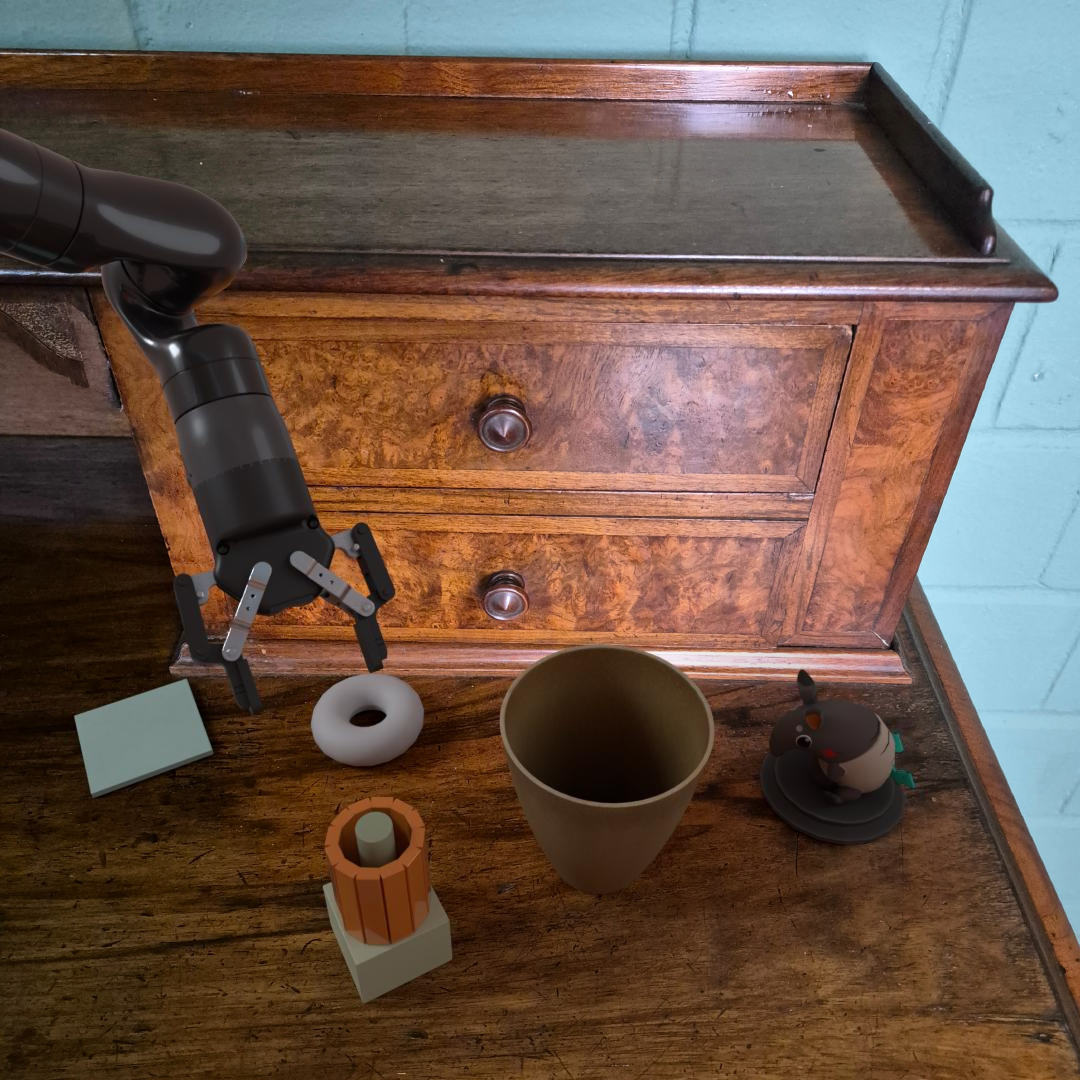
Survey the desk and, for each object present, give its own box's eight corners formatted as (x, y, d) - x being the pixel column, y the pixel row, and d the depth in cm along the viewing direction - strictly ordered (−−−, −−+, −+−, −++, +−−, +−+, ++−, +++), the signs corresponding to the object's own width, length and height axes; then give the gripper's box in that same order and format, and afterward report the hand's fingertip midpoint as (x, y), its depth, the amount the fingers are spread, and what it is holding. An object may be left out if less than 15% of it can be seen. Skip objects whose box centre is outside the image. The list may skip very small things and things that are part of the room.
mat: (93, 798, 79) (91, 793, 79) (75, 720, 86) (74, 715, 86) (213, 754, 83) (212, 749, 83) (188, 682, 90) (186, 678, 90)
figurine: (918, 851, 76) (958, 752, 69) (767, 842, 77) (792, 743, 70) (885, 743, 85) (917, 647, 78) (751, 736, 86) (771, 639, 79)
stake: (363, 1004, 66) (341, 890, 58) (330, 925, 70) (306, 809, 62) (452, 959, 68) (443, 844, 60) (415, 886, 73) (402, 770, 65)
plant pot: (496, 788, 81) (493, 649, 71) (668, 775, 82) (687, 638, 72) (509, 952, 69) (507, 812, 59) (710, 935, 70) (739, 795, 61)
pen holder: (357, 961, 63) (345, 895, 58) (326, 886, 67) (312, 820, 63) (445, 919, 65) (440, 852, 61) (409, 849, 70) (402, 783, 65)
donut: (291, 734, 85) (361, 794, 80) (285, 707, 83) (356, 766, 78) (377, 677, 91) (448, 728, 86) (373, 650, 89) (446, 701, 84)
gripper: (138, 486, 61) (217, 727, 59) (350, 433, 66) (427, 652, 65) (142, 512, 67) (213, 730, 66) (334, 462, 73) (402, 662, 72)
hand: (319, 691), depth 66 cm, fingers open, 8 cm apart
